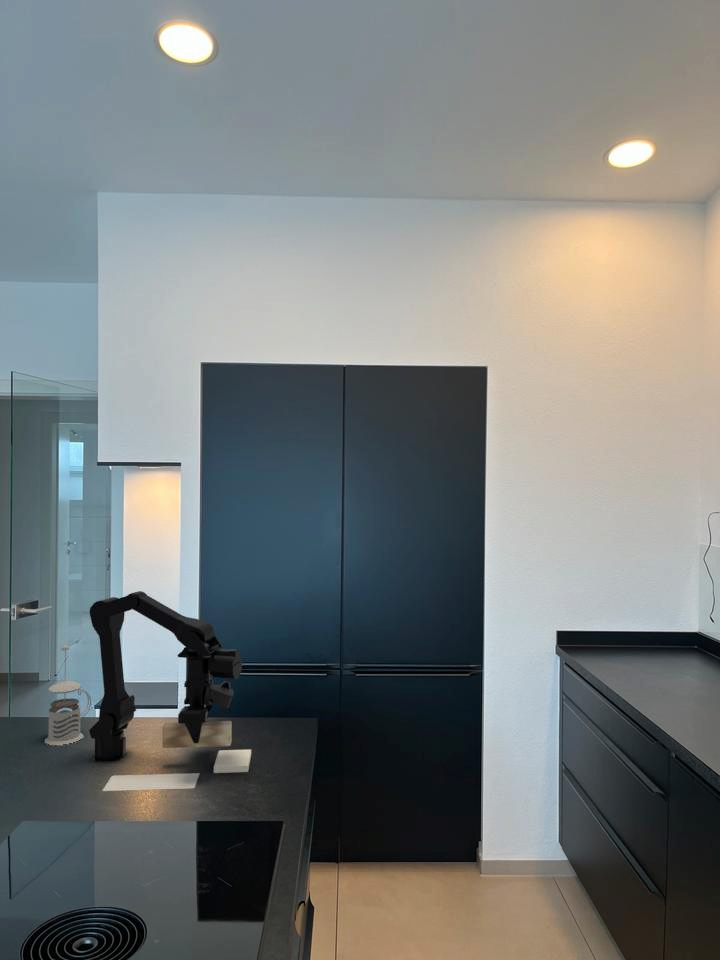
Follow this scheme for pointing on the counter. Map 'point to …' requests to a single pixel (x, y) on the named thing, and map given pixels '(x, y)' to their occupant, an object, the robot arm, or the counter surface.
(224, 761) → the glazed tile
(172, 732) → the beige rectangular block
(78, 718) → the french press
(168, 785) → the mat
